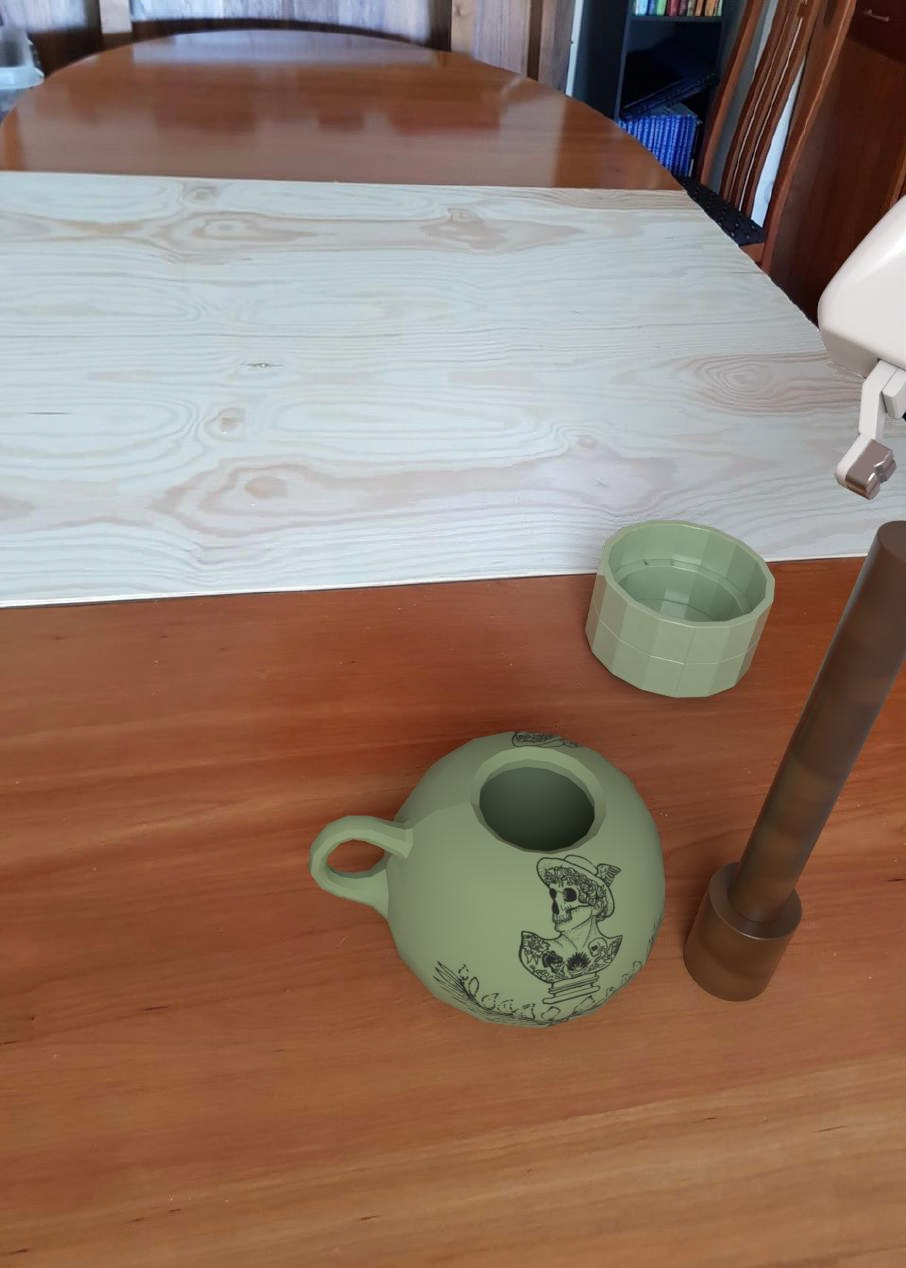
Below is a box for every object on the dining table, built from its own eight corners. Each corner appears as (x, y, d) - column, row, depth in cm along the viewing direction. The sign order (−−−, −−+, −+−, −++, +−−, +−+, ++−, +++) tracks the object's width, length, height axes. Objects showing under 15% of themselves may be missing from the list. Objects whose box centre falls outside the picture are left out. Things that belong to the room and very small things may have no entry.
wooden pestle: (754, 922, 51) (946, 504, 35) (783, 999, 48) (1008, 581, 32) (673, 927, 50) (831, 505, 34) (697, 1005, 47) (883, 583, 31)
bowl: (718, 594, 70) (742, 519, 66) (770, 702, 62) (800, 625, 58) (570, 596, 68) (585, 520, 64) (604, 707, 61) (623, 628, 57)
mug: (614, 803, 55) (647, 684, 50) (686, 1036, 46) (736, 921, 40) (306, 819, 53) (303, 696, 47) (313, 1068, 44) (310, 951, 38)
